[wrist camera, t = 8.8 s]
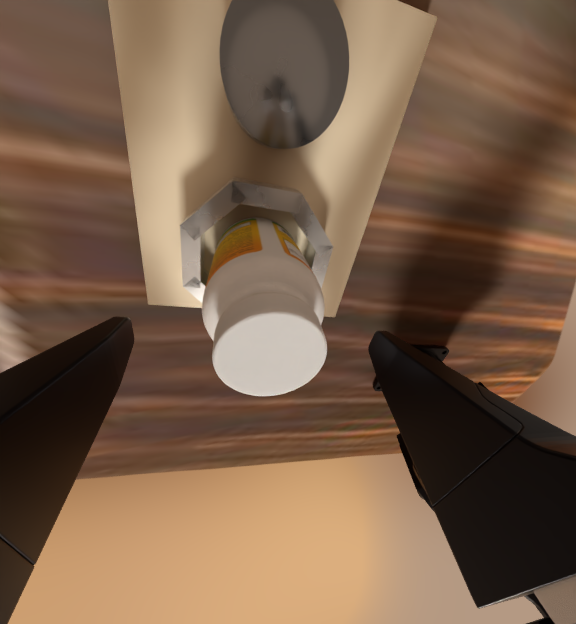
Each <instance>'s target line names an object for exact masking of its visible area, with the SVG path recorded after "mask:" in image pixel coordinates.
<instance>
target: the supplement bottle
mask: <svg viewBox="0 0 576 624" xmlns="http://www.w3.org/2000/svg"><path fill="white" fill-rule="evenodd" d="M324 308H325V306H324V297H323V293H322V290H321V287H320V285H319V282H318V280H317V278H316V276H315V275H314V273H313V271H312V270H311V268H310V267H309V265H308V263H307V261H306V260H305V258H304V256H303V254H302V253H301V251H300V249H299V248H298V246H297V244H296V242H295V241H294V239H293V237H292V236H291V235H290V233H289V232H288V231H287V230H286V229H285V228H284V227H282V226H281V225H280V224H278V223H276V222H274V221H272V220H269V219H266V218H258V217H254V218H247V219H243V220H241V221H238V222H236V223H234V224H233V225H231V226H230V227H229V228H228V229H227V230H226V231H225V232H224V233H223V235H222V236H221V238H220V239H219V242H218V244H217V247H216V250H215V254H214V258H213V262H212V265H211V269H210V273H209V276H208V280H207V284H206V287H205V291H204V295H203V303H202V316H203V321H204V324H205V327H206V329H207V331H208V333H209V335H210V337H211V338H212V340H213V341H214V342H213V351H212V360H213V365H214V369H215V371H216V373H217V375H218V376H219V377H220V379H221V380H222V381H223V382H224V383H225V384H226V385H228V386H229V387H231V388H233V389H234V390H237V391H239V392H242V393H245V394H249V395H254V396H273V395H279V394H283V393H287V392H290V391H292V390H295V389H297V388H299V387H301V386H303V385H304V384H306V383H307V382H309V381H310V380H311V379H312V378H313V377H314V376H315V375H316V374H317V373H318V372H319V370H320V369H321V367H322V366H323V364H324V361H325V358H326V354H327V342H326V338H325V335H324V332H323V330H322V327H321V324H322V321H323V317H324Z"/></svg>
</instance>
